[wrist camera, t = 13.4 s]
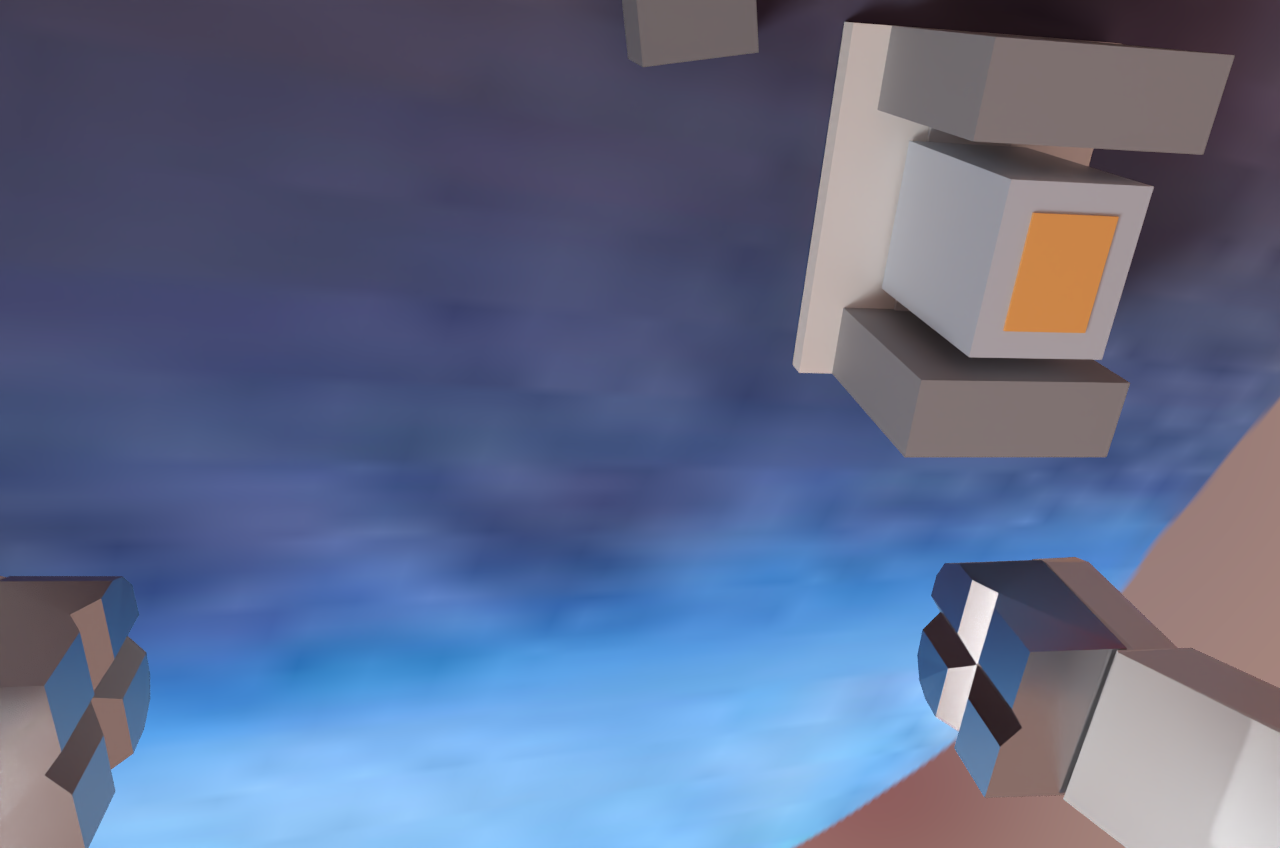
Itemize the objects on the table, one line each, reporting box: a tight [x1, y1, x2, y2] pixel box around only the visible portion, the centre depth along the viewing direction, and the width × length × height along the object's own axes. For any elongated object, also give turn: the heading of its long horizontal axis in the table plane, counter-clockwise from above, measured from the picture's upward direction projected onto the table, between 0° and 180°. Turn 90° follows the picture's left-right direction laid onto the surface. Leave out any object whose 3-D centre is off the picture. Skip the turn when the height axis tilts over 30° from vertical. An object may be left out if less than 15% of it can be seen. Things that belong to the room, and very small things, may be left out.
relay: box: [622, 0, 759, 67], centre depth 32 cm, size 3×4×4 cm
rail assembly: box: [793, 22, 1235, 457], centre depth 35 cm, size 14×11×9 cm
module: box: [882, 141, 1154, 360], centre depth 34 cm, size 6×5×8 cm
